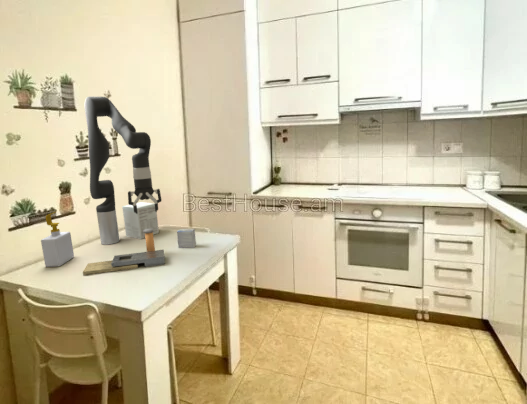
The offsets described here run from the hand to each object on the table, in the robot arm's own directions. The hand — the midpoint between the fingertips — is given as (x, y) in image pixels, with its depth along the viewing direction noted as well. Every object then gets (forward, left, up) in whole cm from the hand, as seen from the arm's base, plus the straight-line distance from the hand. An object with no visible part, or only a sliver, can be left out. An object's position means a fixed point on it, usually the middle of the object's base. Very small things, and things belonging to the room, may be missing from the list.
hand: (146, 212), depth 159 cm
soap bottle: (-6, -40, -21) cm, 45 cm away
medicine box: (-5, +17, -21) cm, 27 cm away
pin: (0, 0, -20) cm, 20 cm away
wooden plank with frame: (+11, -10, -20) cm, 25 cm away
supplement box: (-38, -6, -21) cm, 44 cm away
